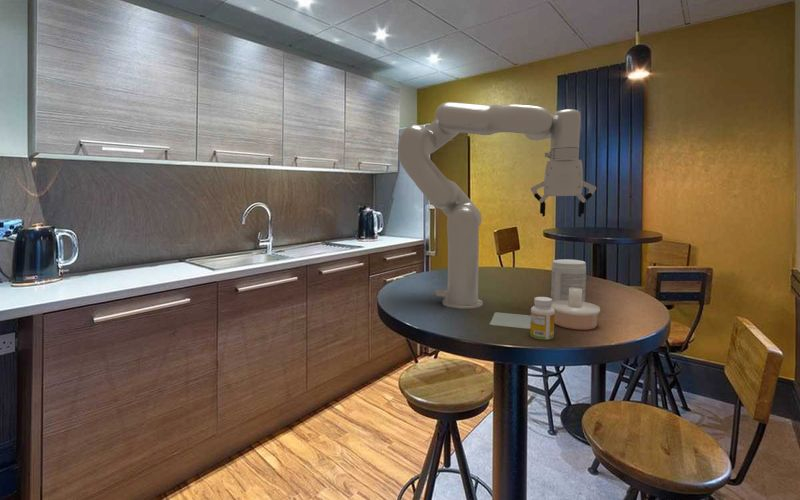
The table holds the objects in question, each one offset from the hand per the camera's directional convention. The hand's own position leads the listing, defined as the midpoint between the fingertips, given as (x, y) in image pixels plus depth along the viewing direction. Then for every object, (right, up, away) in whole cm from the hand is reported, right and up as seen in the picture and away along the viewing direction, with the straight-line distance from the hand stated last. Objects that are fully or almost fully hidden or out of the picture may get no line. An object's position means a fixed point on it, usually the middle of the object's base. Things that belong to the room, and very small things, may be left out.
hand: (561, 216), depth 113 cm
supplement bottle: (-12, -31, -18) cm, 38 cm away
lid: (0, -25, -9) cm, 27 cm away
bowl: (0, -30, -9) cm, 31 cm away
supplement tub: (+4, -28, +6) cm, 29 cm away
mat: (-15, -29, -6) cm, 34 cm away
